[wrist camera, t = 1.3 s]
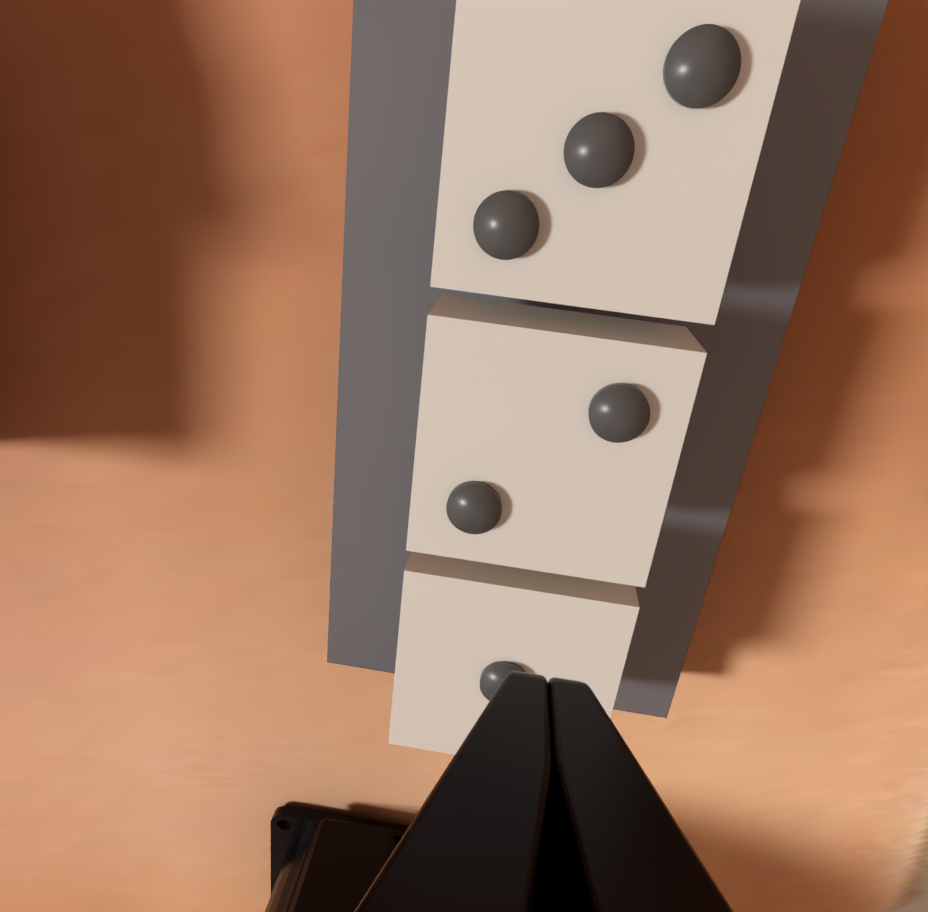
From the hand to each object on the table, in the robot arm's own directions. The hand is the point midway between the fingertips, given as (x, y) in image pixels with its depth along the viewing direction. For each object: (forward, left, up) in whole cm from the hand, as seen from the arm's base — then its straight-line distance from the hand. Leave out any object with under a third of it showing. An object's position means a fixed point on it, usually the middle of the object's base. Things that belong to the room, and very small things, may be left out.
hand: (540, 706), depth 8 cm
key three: (+5, 0, -8) cm, 10 cm away
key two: (0, 0, -8) cm, 8 cm away
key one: (-5, 0, -8) cm, 10 cm away
